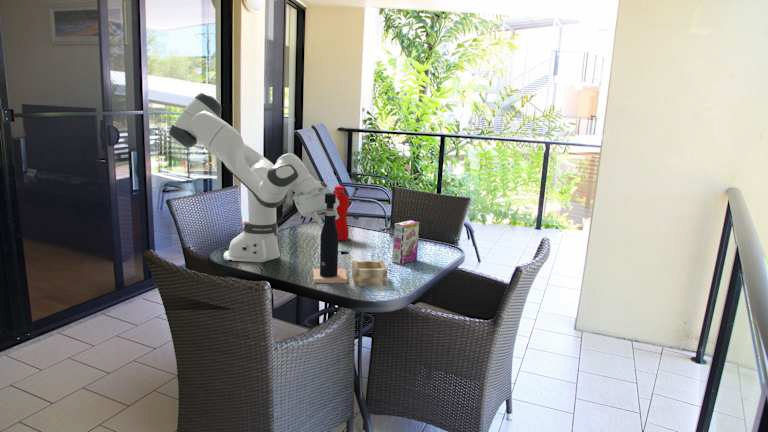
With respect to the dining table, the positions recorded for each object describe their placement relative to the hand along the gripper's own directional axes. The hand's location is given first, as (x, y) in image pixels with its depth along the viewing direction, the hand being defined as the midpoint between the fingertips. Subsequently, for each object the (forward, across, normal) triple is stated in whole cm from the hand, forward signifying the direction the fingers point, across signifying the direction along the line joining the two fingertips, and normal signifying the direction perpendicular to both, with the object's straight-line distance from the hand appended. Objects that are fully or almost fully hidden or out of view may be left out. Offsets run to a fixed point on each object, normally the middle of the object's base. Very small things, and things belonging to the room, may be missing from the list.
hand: (329, 220), depth 210 cm
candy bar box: (+24, +36, +6) cm, 44 cm away
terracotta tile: (+16, -1, +14) cm, 21 cm away
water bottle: (-6, +48, +36) cm, 61 cm away
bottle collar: (+25, +5, +5) cm, 26 cm away
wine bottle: (+15, -2, +13) cm, 20 cm away
